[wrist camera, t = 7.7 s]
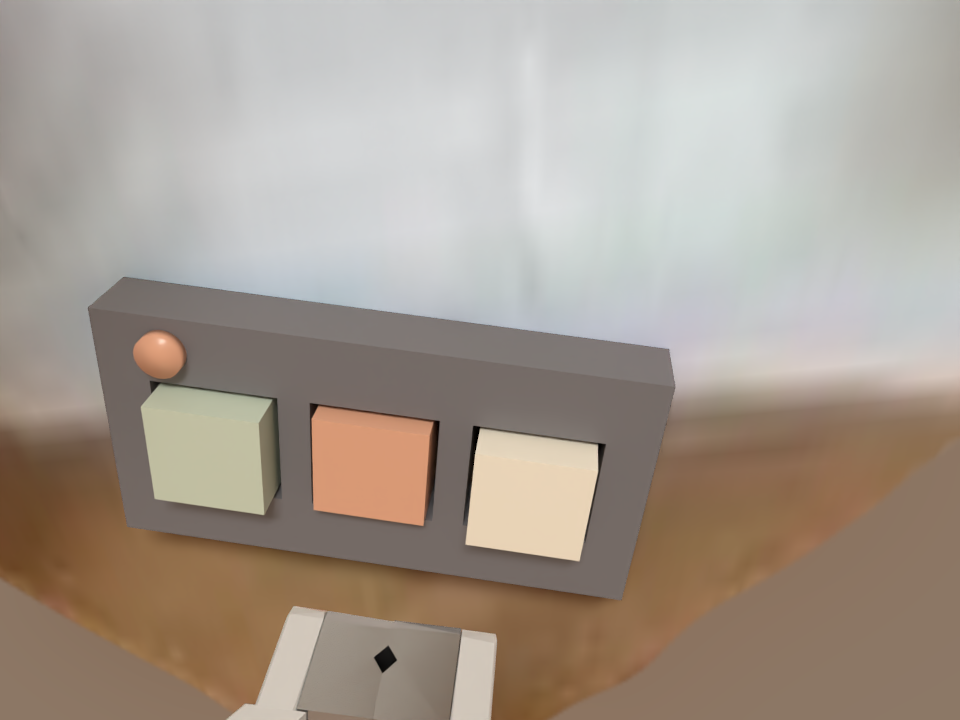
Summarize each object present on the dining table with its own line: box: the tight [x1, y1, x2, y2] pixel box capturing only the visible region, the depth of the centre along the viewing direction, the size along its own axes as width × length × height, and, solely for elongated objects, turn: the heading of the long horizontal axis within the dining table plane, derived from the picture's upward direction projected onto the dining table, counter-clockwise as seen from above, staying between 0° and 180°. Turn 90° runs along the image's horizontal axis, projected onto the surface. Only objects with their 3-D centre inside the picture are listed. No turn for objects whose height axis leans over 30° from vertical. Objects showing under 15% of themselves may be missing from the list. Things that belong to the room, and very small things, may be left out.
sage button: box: [141, 382, 281, 515], centre depth 36 cm, size 5×5×3 cm
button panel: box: [88, 277, 675, 600], centre depth 37 cm, size 24×12×4 cm, turn 85°
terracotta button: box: [312, 404, 439, 526], centre depth 37 cm, size 5×5×3 cm
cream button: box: [465, 427, 598, 561], centre depth 36 cm, size 5×5×3 cm
